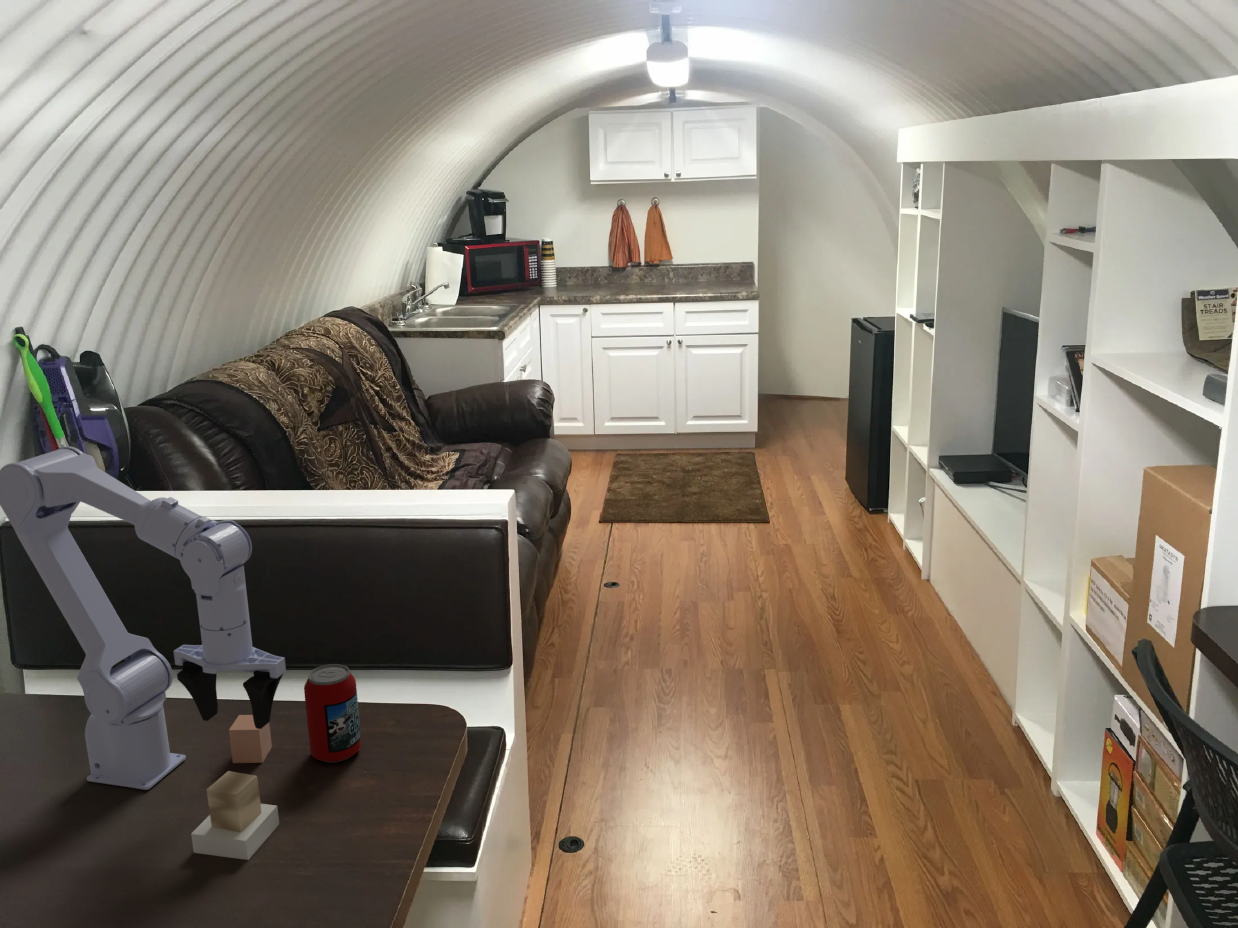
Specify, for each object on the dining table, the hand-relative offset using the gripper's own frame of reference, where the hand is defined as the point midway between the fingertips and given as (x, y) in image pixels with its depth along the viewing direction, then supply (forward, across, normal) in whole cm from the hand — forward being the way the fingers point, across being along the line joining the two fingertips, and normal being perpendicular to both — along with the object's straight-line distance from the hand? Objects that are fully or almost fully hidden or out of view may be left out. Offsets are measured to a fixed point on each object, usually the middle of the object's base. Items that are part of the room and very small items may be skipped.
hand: (236, 720), depth 131 cm
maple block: (+7, +6, -9) cm, 13 cm away
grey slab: (+10, +5, -9) cm, 15 cm away
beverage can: (+10, +7, +11) cm, 16 cm away
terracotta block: (+10, -4, +8) cm, 13 cm away
